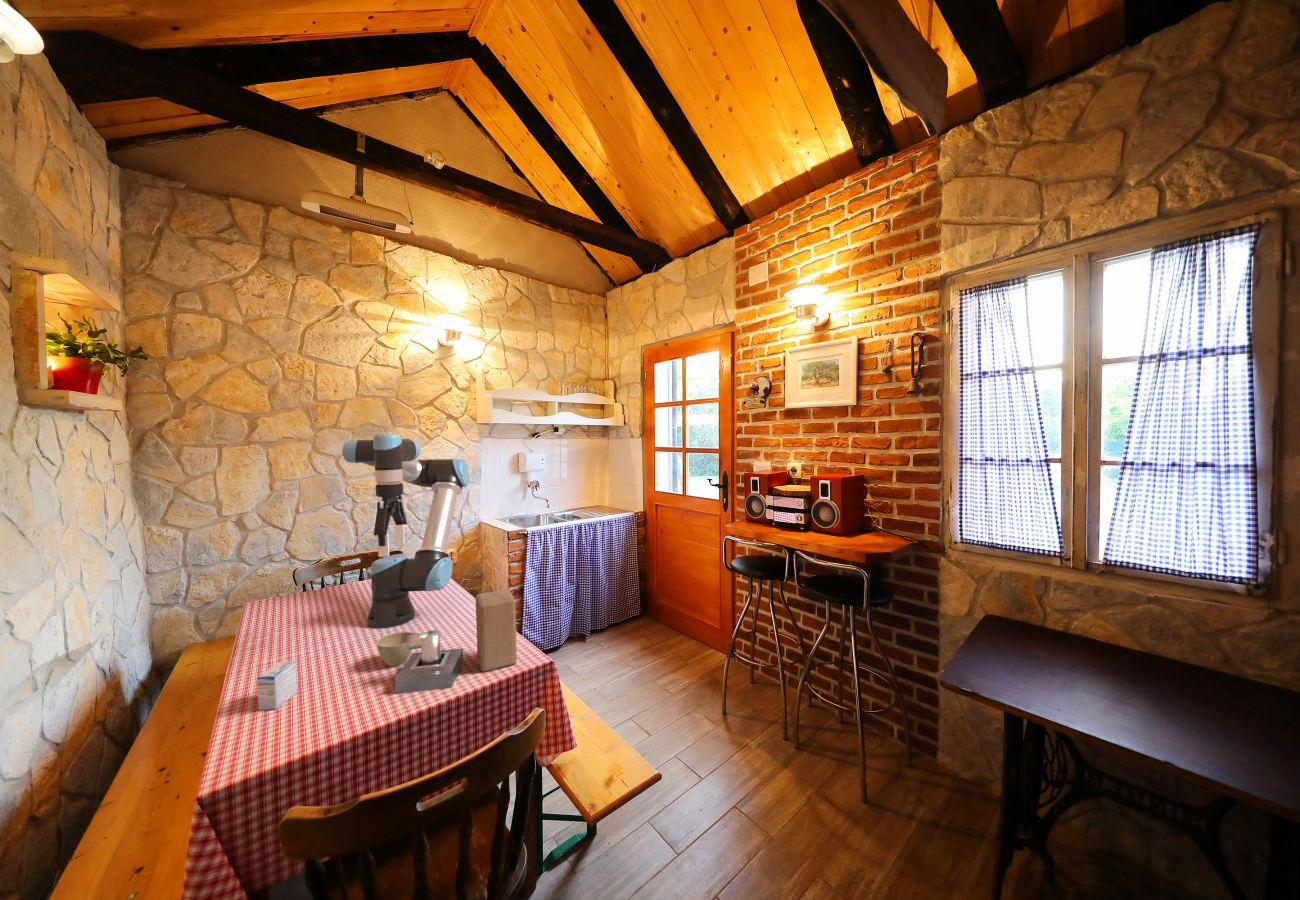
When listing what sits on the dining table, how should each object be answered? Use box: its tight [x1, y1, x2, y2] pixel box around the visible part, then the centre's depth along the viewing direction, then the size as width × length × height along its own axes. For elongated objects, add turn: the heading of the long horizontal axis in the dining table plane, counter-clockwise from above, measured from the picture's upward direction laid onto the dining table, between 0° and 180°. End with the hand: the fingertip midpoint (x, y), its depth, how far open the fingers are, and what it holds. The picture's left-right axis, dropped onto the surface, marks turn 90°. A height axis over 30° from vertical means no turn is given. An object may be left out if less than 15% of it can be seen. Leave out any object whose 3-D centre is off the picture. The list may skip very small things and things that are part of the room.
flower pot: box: [376, 631, 414, 667], centre depth 137 cm, size 10×10×7 cm
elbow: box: [406, 630, 442, 666], centre depth 129 cm, size 8×5×12 cm, turn 100°
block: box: [475, 588, 518, 672], centre depth 136 cm, size 10×10×20 cm
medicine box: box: [256, 660, 299, 711], centre depth 118 cm, size 8×4×9 cm, turn 5°
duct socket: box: [394, 647, 464, 694], centre depth 129 cm, size 14×14×5 cm
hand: (392, 550), depth 144 cm, fingers open, 13 cm apart
